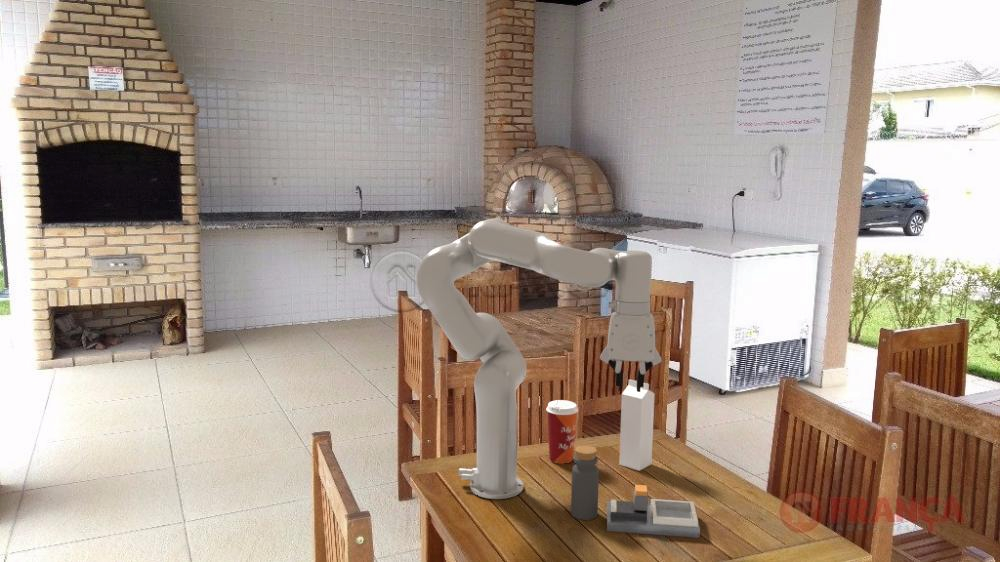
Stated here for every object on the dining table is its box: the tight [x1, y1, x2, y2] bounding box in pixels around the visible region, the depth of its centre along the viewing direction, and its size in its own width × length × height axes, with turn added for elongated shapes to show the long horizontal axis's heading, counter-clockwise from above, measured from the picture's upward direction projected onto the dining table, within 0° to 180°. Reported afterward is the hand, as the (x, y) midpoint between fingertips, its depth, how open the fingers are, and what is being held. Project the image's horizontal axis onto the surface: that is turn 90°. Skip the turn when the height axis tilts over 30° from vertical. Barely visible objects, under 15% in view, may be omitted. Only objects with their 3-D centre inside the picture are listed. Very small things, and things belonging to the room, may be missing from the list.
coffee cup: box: [545, 399, 579, 463], centre depth 198 cm, size 8×8×15 cm
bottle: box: [570, 445, 600, 521], centre depth 168 cm, size 6×6×15 cm
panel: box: [606, 498, 701, 539], centre depth 165 cm, size 19×10×4 cm, turn 82°
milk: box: [619, 378, 655, 471], centre depth 195 cm, size 6×6×22 cm
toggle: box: [633, 484, 649, 511], centre depth 165 cm, size 3×4×4 cm
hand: (629, 388), depth 169 cm, fingers open, 3 cm apart
